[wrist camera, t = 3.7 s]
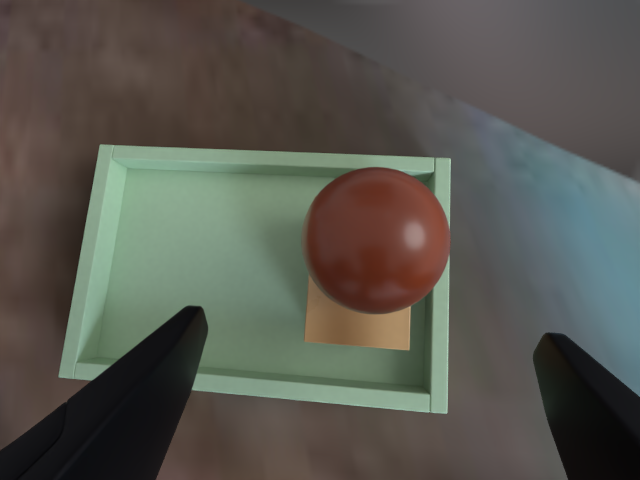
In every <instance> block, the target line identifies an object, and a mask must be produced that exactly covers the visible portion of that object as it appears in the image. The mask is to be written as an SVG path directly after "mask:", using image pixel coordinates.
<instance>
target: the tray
mask: <svg viewBox="0 0 640 480" xmlns="http://www.w3.org/2000/svg"><path fill="white" fill-rule="evenodd" d="M450 163H451V160H450V158H435V159H434V158H433V157H409V156H383V155H357V154H330V153H304V152H278V151H252V150H226V149H200V148H173V147H147V146H121V145H100V147H99V152H98V158H97V163H96V169H95V175H94V180H93V186H92V191H91V197H90V203H89V208H88V214H87V219H86V225H85V230H84V236H83V242H82V247H81V253H80V258H79V264H78V270H77V275H76V281H75V286H74V292H73V297H72V303H71V309H70V314H69V320H68V325H67V331H66V337H65V342H64V348H63V353H62V359H61V364H60V370H59V376H58V377H60V378H70V379H82V380H93V379H95V378H96V377H97V376H98V375H100V374H101V373H102V372H103V371H105V370H106V369H107V368H108V367H110V366H111V365H112V364H114V363H115V362H116V361H117V360H119V359H120V358H121V357H122V356H124V355H125V354H126V353H127V352H129V351H130V350H131V349H132V348H134V347H135V346H136V345H137V344H139V343H140V342H141V341H142V340H144V339H145V338H146V337H147V336H149V335H150V334H151V333H152V332H154V331H155V330H156V329H158V328H159V327H160V326H161V325H163V324H164V323H165V322H166V321H168V320H169V319H170V318H171V317H173V316H174V315H175V314H176V313H178V312H179V311H180V310H181V309H183V308H184V307H185V306H188V305H194V306H201V307H202V308H203V309H204V313H205V316H206V320H207V324H208V335H207V338H206V342H205V345H204V349H203V353H202V356H201V360H200V363H199V367H198V371H197V374H196V378H195V381H194V384H193V387H192V390H198V391H208V392H219V393H229V394H240V395H250V396H261V397H271V398H282V399H292V400H303V401H313V402H324V403H334V404H345V405H355V406H366V407H377V408H387V409H398V410H408V411H419V412H429V411H430V412H431V413H442V414H446V413H447V406H448V325H449V257H448V261H447V264H446V267H445V270H444V272H443V274H442V275H441V277H440V279H439V281H438V282H437V284H436V285H435V286H434V288H433V289H432V290H431V291H430V292H429V293H428V294H427V295H426V296H425V297H424V298H422V299H421V300H420V301H418V302H417V303H415V304H413V305H412V306H411V312H410V347H409V350H397V349H385V348H373V347H361V346H348V345H336V344H324V343H312V342H304V330H305V317H306V304H307V290H308V277H309V273H308V270H307V268H306V265H305V263H304V259H303V255H302V248H301V233H302V226H303V223H304V219H305V216H306V214H307V211H308V209H309V207H310V205H311V203H312V202H313V200H314V197H315V196H317V195H318V193H319V192H320V191H321V190H322V189H323V188H324V187H325V186H326V185H327V184H329V183H330V182H331V181H333V180H334V179H336V178H337V177H339V176H341V175H343V174H345V173H348V172H350V171H353V170H357V169H360V168H367V167H385V168H391V169H395V170H399V171H401V172H404V173H407V174H409V175H411V176H413V177H414V178H416V179H417V180H419V181H420V182H422V183H423V184H424V185H425V186H426V187H427V188H429V189H430V191H431V192H432V193H433V194H434V195H435V196H436V198H437V199H438V201H439V202H440V204H441V206H442V208H443V210H444V212H445V215H446V218H447V221H448V224H449V229H450Z"/></svg>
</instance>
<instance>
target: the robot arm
mask: <svg viewBox="0 0 640 480" xmlns="http://www.w3.org/2000/svg"><path fill="white" fill-rule="evenodd" d="M207 335H208V324H207V320H206V316H205V313H204V309H203V308H202V307H201V306H194V305H188V306H185V307H184V308H183V309H181V310H180V311H179V312H178V313H176V314H175V315H174V316H173V317H171V318H170V319H169V320H168V321H166V322H165V323H164V324H163V325H161V326H160V327H159V328H158V329H156V330H155V331H154V332H152V333H151V334H150V335H149V336H147V337H146V338H145V339H144V340H142V341H141V342H140V343H139V344H137V345H136V346H135V347H134V348H132V349H131V350H130V351H129V352H127V353H126V354H125V355H124V356H122V357H121V358H120V359H119V360H117V361H116V362H115V363H114V364H112V365H111V366H110V367H108V368H107V369H106V370H105V371H103V372H102V373H101V374H100V375H98V376H97V377H96V378H95V379H93V380H92V381H91V382H90V383H88V384H87V385H86V386H85V387H83V388H82V389H81V390H80V391H78V392H77V393H76V394H75V395H73V396H72V397H71V398H70V399H68V401H67V402H65V403H63V404H62V405H61V406H59V407H58V408H57V409H56V410H54V411H53V412H52V413H50V414H49V415H48V416H47V417H45V418H44V419H43V420H41V421H40V422H39V423H38V424H36V425H35V426H34V427H32V428H31V429H30V430H28V431H27V432H26V433H24V434H23V435H22V436H20V437H19V438H17V439H16V440H15V441H13V442H12V443H11V444H9V445H8V446H6V447H5V448H4V449H2V450H1V451H0V480H156V478H157V475H158V473H159V470H160V468H161V465H162V463H163V460H164V458H165V455H166V453H167V450H168V448H169V445H170V443H171V440H172V438H173V435H174V433H175V430H176V428H177V425H178V423H179V420H180V418H181V415H182V413H183V410H184V408H185V405H186V403H187V400H188V398H189V395H190V393H191V390H192V387H193V384H194V381H195V378H196V374H197V371H198V367H199V363H200V360H201V356H202V353H203V349H204V345H205V342H206V338H207ZM533 362H534V366H535V371H536V375H537V379H538V383H539V388H540V392H541V396H542V400H543V405H544V409H545V413H546V417H547V420H548V423H549V426H550V429H551V432H552V435H553V438H554V441H555V444H556V446H557V449H558V452H559V455H560V458H561V461H562V463H563V466H564V469H565V472H566V475H567V478H568V480H640V397H639V396H638V395H637V394H636V393H634V392H633V391H632V390H631V389H630V388H628V387H627V386H626V385H625V384H624V383H622V382H621V381H620V380H619V379H618V378H616V377H615V376H614V375H613V374H612V373H610V372H609V371H608V370H607V369H606V368H604V367H603V366H602V365H601V364H600V363H598V362H597V361H596V360H595V359H594V358H592V357H591V356H590V355H589V354H588V353H586V352H585V351H584V350H583V349H582V348H580V347H579V346H578V345H577V344H576V343H574V342H573V341H572V340H571V339H570V338H569V337H567V336H566V335H564V334H561V333H545V334H544V335H543V336H542V338H541V340H540V342H539V344H538V345H537V347H536V349H535V351H534V354H533Z"/></svg>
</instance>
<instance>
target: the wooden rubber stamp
mask: <svg viewBox="0 0 640 480" xmlns="http://www.w3.org/2000/svg"><path fill="white" fill-rule="evenodd" d="M450 243H451V241H450V229H449V224H448V221H447V218H446V215H445V212H444V210H443V208H442V206H441V204H440V202H439V201H438V199H437V198H436V196H435V195H434V194H433V193H432V192H431V191H430V189H429V188H427V187H426V186H425V185H424V184H423V183H422V182H420V181H419V180H417V179H416V178H414V177H413V176H411V175H409V174H407V173H404V172H401V171H399V170H395V169H391V168H385V167H367V168H360V169H357V170H353V171H350V172H348V173H345V174H343V175H341V176H339V177H337V178H336V179H334V180H333V181H331V182H330V183H329V184H327V185H326V186H325V187H324V188H323V189H322V190H321V191H320V192H319V193H318V195H317V196H315V197H314V200H313V202H312V203H311V205H310V207H309V209H308V211H307V214H306V216H305V219H304V223H303V226H302V233H301V248H302V255H303V259H304V263H305V265H306V268H307V270H308V273H309V277H308V290H307V304H306V317H305V330H304V342H312V343H324V344H336V345H348V346H361V347H373V348H385V349H397V350H409V347H410V312H411V306H412V305H413V304H415V303H417V302H418V301H420V300H421V299H422V298H424V297H425V296H426V295H427V294H428V293H429V292H430V291H431V290H432V289H433V288H434V286H435V285H436V284H437V282H438V281H439V279H440V277H441V275H442V274H443V272H444V270H445V267H446V264H447V261H448V257H449V253H450Z"/></svg>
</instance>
